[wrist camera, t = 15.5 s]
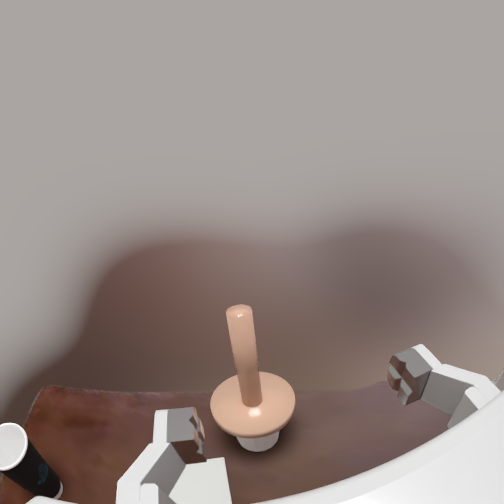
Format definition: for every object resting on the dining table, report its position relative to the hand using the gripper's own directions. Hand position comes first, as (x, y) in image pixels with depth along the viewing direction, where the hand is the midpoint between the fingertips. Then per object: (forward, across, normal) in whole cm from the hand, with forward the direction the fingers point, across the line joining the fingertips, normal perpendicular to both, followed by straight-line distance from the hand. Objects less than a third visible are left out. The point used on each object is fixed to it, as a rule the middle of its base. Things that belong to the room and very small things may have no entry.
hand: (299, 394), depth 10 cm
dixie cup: (+6, +33, +26) cm, 42 cm away
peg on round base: (+16, +2, +20) cm, 26 cm away
